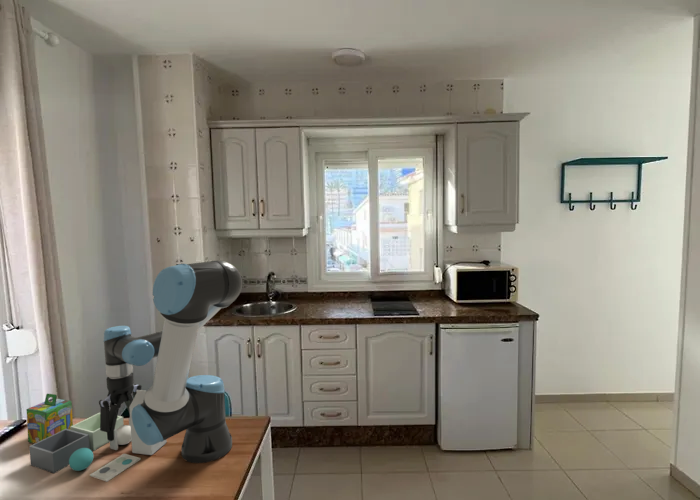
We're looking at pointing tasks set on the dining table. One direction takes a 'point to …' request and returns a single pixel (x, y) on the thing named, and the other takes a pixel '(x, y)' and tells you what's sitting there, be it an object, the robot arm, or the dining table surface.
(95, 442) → the pale green tray
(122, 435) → the ball white
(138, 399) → the milk carton
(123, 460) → the card
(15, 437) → the dining table surface
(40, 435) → the chalk box
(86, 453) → the ball teal
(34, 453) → the grey storage bin
